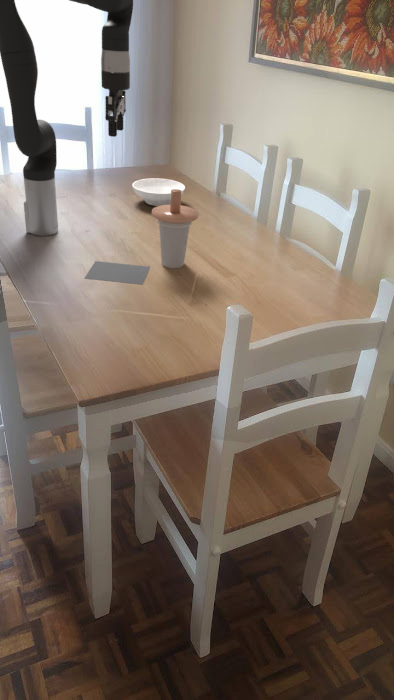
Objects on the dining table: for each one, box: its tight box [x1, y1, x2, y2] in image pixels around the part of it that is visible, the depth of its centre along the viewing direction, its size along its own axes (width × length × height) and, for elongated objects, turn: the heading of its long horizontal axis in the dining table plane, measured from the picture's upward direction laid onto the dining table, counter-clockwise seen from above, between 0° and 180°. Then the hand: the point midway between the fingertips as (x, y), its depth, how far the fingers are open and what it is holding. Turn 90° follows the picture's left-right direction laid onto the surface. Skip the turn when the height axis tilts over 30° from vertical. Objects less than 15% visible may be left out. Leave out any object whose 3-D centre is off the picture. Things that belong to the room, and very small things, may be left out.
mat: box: [84, 260, 151, 285], centre depth 160 cm, size 16×12×1 cm
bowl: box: [131, 177, 186, 207], centre depth 213 cm, size 20×20×7 cm
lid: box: [151, 189, 199, 223], centre depth 158 cm, size 13×13×7 cm
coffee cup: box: [157, 219, 193, 269], centre depth 164 cm, size 10×10×15 cm
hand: (116, 133), depth 160 cm, fingers open, 8 cm apart
